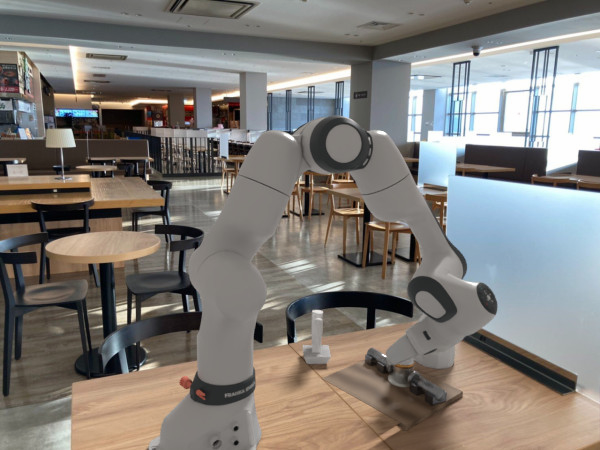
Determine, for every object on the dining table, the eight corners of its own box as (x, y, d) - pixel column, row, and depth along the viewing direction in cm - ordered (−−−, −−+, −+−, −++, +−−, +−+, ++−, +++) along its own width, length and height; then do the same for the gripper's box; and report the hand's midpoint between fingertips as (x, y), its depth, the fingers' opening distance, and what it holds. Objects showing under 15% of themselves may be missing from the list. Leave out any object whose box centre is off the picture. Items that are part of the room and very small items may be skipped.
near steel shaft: (405, 388, 116) (406, 373, 116) (419, 384, 119) (420, 368, 118) (433, 406, 109) (434, 390, 108) (447, 401, 111) (448, 385, 110)
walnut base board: (405, 430, 102) (406, 424, 102) (321, 382, 121) (321, 377, 121) (462, 395, 116) (463, 390, 116) (378, 357, 135) (379, 352, 135)
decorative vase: (406, 355, 137) (411, 270, 133) (435, 348, 142) (441, 266, 137) (431, 372, 127) (437, 281, 123) (462, 364, 132) (469, 276, 127)
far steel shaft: (399, 372, 125) (400, 357, 124) (386, 376, 122) (387, 361, 122) (377, 358, 132) (377, 344, 131) (364, 361, 130) (364, 347, 129)
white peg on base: (327, 355, 136) (329, 304, 133) (331, 371, 127) (332, 317, 124) (302, 355, 136) (302, 304, 133) (303, 371, 127) (304, 317, 124)
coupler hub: (404, 386, 117) (406, 351, 115) (388, 378, 121) (389, 344, 119) (417, 379, 120) (419, 346, 119) (400, 372, 124) (402, 339, 122)
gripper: (455, 309, 119) (419, 334, 128) (404, 329, 106) (368, 355, 115) (470, 332, 116) (433, 355, 125) (419, 356, 103) (381, 380, 112)
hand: (401, 356), depth 120 cm, fingers open, 8 cm apart
